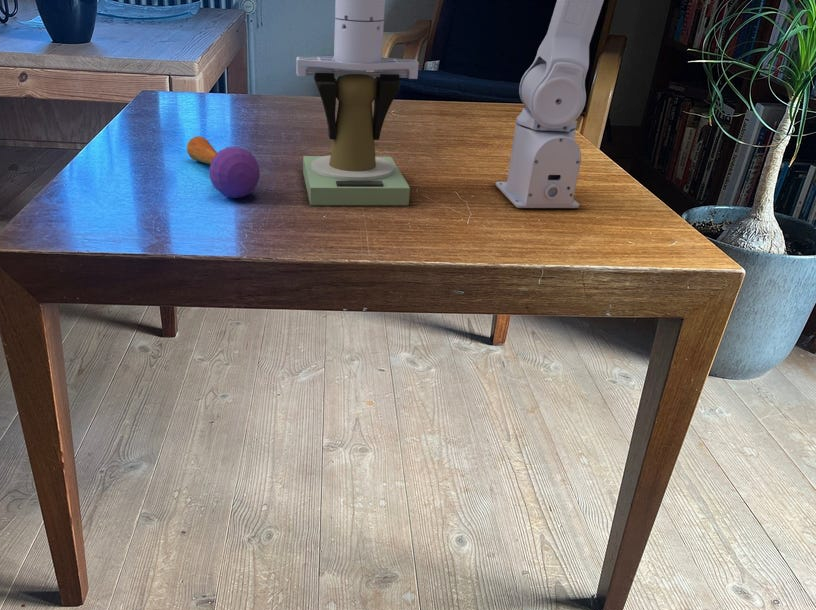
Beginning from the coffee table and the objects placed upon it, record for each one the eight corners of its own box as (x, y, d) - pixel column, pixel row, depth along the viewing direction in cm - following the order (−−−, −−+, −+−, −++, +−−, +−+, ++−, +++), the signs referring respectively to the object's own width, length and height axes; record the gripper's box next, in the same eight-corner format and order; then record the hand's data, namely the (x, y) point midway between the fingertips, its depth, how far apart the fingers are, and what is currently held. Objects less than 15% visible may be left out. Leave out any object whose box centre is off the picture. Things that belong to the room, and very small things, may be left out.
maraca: (221, 129, 102) (269, 154, 86) (217, 172, 105) (262, 205, 88) (179, 123, 100) (220, 148, 83) (175, 168, 102) (214, 200, 86)
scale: (408, 205, 89) (410, 183, 88) (310, 205, 88) (310, 183, 86) (390, 172, 101) (391, 152, 100) (303, 172, 100) (303, 152, 98)
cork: (372, 173, 91) (377, 79, 85) (324, 168, 92) (326, 75, 86) (379, 160, 96) (385, 71, 90) (334, 156, 97) (337, 68, 91)
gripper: (414, 17, 89) (405, 130, 96) (295, 13, 88) (294, 129, 95) (426, 23, 83) (415, 144, 90) (298, 20, 82) (297, 143, 89)
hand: (353, 137), depth 92 cm, fingers closed on cork, 5 cm apart
